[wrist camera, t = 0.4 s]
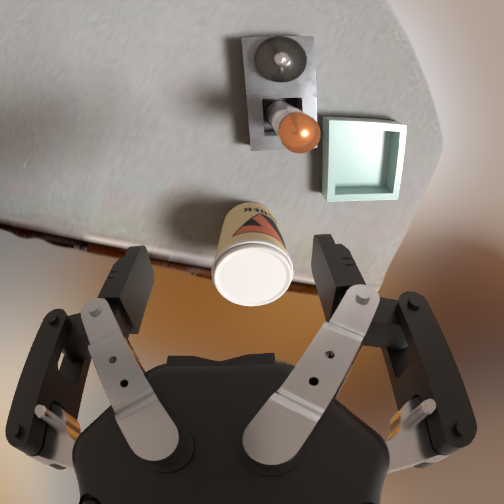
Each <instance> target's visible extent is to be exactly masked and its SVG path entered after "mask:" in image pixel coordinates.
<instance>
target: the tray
mask: <svg viewBox="0 0 504 504" xmlns="http://www.w3.org/2000/svg"><path fill="white" fill-rule="evenodd" d="M322 118H323V148H322V190H321V193H322V195H323V196H324V198H325V200H326V201H327V202H338V201H363V200H398V195H399V189H400V182H401V175H402V168H403V160H404V151H405V141H406V129H407V125H405V124H402V123H400V122H397V121H392V120H381V119H368V118H351V117H322Z"/></svg>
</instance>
